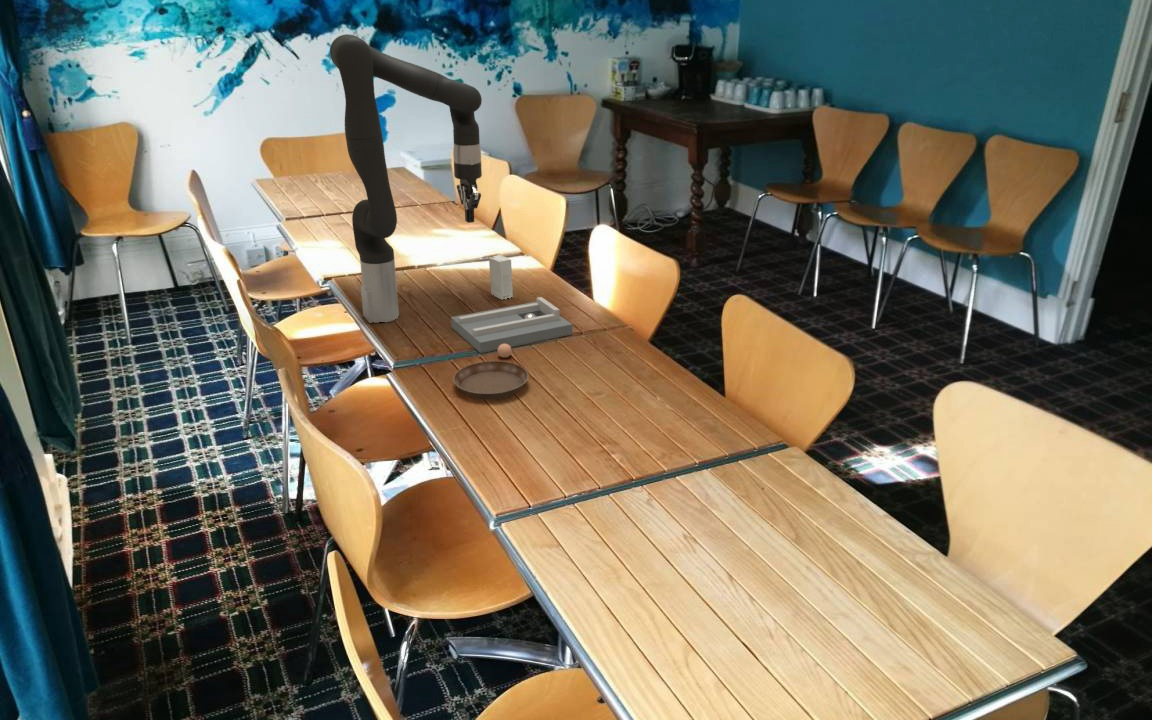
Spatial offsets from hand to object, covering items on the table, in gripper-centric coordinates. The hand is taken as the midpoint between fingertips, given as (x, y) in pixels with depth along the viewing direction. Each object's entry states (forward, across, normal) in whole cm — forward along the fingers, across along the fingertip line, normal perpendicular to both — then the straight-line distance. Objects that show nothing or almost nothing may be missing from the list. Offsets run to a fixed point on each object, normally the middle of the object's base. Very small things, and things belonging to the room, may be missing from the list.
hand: (469, 221), depth 248 cm
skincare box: (+25, -3, +10) cm, 28 cm away
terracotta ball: (+23, +38, -6) cm, 45 cm away
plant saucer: (+26, +52, -16) cm, 61 cm away
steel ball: (+23, +23, +8) cm, 33 cm away
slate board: (+25, +23, +2) cm, 34 cm away
